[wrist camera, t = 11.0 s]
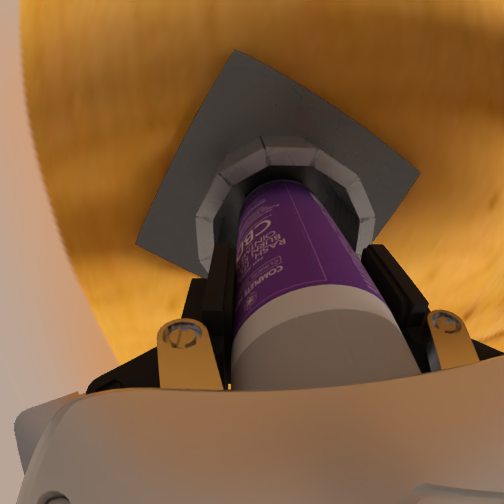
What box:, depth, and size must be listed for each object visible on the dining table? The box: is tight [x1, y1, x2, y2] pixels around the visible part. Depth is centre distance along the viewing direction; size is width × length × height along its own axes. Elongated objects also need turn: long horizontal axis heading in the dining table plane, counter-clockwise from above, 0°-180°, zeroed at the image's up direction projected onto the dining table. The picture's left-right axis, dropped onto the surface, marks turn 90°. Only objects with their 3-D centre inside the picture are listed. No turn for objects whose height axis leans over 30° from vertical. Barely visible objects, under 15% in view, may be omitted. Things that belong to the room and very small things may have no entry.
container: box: [231, 179, 421, 390], centre depth 11 cm, size 5×5×15 cm
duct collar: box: [135, 49, 420, 278], centre depth 18 cm, size 14×14×6 cm
